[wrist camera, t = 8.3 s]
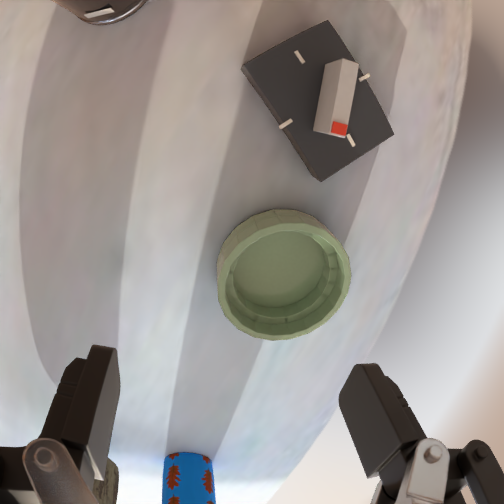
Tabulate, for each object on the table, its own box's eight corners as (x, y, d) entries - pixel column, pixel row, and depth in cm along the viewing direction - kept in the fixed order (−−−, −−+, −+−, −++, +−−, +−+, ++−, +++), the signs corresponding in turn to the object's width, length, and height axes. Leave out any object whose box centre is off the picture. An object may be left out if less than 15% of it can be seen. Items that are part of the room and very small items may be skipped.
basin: (191, 256, 36) (188, 277, 32) (298, 182, 34) (311, 194, 30) (260, 333, 42) (266, 358, 38) (353, 274, 40) (368, 295, 36)
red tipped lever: (324, 64, 26) (343, 57, 22) (340, 68, 26) (360, 63, 22) (312, 130, 29) (329, 134, 24) (327, 134, 29) (346, 138, 25)
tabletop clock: (53, 419, 47) (26, 521, 25) (82, 415, 47) (58, 529, 25) (95, 454, 54) (82, 547, 31) (125, 452, 53) (117, 553, 31)
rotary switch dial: (235, 72, 28) (237, 68, 25) (322, 24, 26) (333, 17, 24) (308, 179, 34) (316, 186, 31) (385, 129, 32) (399, 132, 29)
